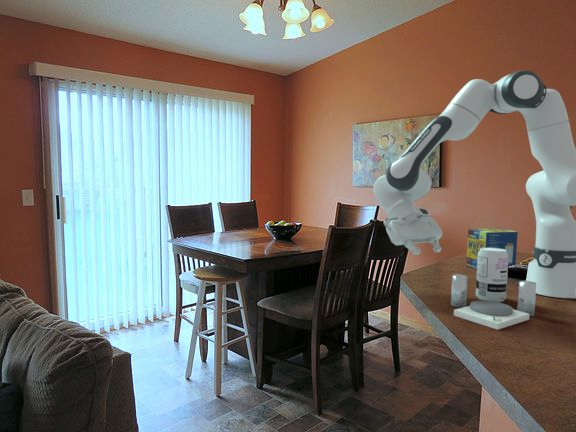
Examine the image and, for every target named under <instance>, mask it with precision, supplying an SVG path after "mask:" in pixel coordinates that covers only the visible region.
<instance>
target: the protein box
mask: <svg viewBox="0 0 576 432" xmlns="http://www.w3.org/2000/svg"><path fill="white" fill-rule="evenodd" d="M467 230H468V231H467V246H466V247H467V249H466V250H467V251H466V267H469V268H473V269H476V270H477V260H478V253H479V251H480V248H500V249H505V250H506V251H507V253H508V255H509V257H508V267H509V266H512V265H516V266H517V264H516V262H517V251H518V250H517V248H518V247H517V246H518V234H519V232H518V231H516V230H515V231H514V230H511V229H505V228H499V227H495V228H468V229H467Z"/></svg>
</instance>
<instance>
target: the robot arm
mask: <svg viewBox="0 0 576 432" xmlns="http://www.w3.org/2000/svg"><path fill="white" fill-rule="evenodd" d="M489 112H491V113H494V114H498V115H506V114H510V113H514V112H519V113H520V114H521V115H522V116H523V119H524V121H525V125H526V130H527V135H528V136H527V137H528V141H529V145H530V151H531V155H532V156H533V157H534V158H535V160H537V162H539V164H540V166H541V167H542V170H541V171H538V172H536V173H534V174H532V175H530V176H529V177H528V179H527V181H526V183H525V191H526V193H527V195H528V196H529V198H530V199H531V202H532V206H533V207H532V208H533V211H534V216H535V226H536V227H535V229H536V230H535V245H534V246H533V250H532V258H533V259H532V260H531V261H530V262H528V268H527V272H526V273H527V274H526V279H525V281H531V282H535V283H536V294H537V295H541V296H545V297H553V298H557V299H558V298H561V299H576V220H575V219H574V218H575V217H574V216H573V215H572V211H571V206H572V207H573V206H576V146H575V142H574V139H573V134H572V130H571V125H570V119H569V116H568V111H567V108H566V105H565V102H564V100H563V98H562V96H561V94H560V92H559V91H558V90H556V89H555V88H547V86H546V84H544V82H543V81H542V79H541V77H540V76H539V75H538V74H537V73H535V72H534V71H531V70H527V69H523V70H516V71H514V72H512V73H509V74H507V75H505V76H503V77H501V78H500V79H499V80H497V81H496V82H494V83H490V82H488V81H487V80H484V79H483V78H482V79H480V78H475V79H471V80H469V81H468V82H467V83H466V84H464V86H463V87H462V88H461V89H460V90H459V91H458V92H457V93H456V94H455V95H454V97H453V98H452V99H451V101H450V102H449V103H448V104H447V106H446V107H445V109H444V110H443V111H442V112H441V113H440V115H438V116H436V117H435V118H434V119H433V120H432V121H430V123H429V124H427V126H426V127H425V128H424V129H423V130H422V131H421V132H420V133H419V134H418V136H417V137H416V138H415V139H414V141H412V143H411V144H410V145H409V146H408V147H407V149H406V150H404V152H402V153H401V154H400V155H398V156H397V157H396V158H395V159H393V160H392V161H391V162H390V163H389V164H388V166H387V170H386V173H385V174H383V175H381V176H380V177H378V178H377V179H376V181H375V182H374V184H373V189H372V191H373V195H374V198H375V199H376V201H377V203H378V205H379V206H380V207H381V208H382V210H383V211H384V212H385V214H386V215H387V217H386V218H385V219H384V220H383V225H384V227H385V230H386V233H387V236H388V238H389V239H390V242H391V243H392V244H393V245H395V246H404V247H405V248H406V249H407V250H409V251H411V252H412V254H413V256H419V254H421V252H422V250H421V249H420V247H418V246H416V244H421V243H430V245H432V246H433V247H432V250H433V251H434V253H440V252H441V251H442V247H441V246H440V243H439V242H440V241H439V240H440V239H441V238H442V237H443V231H442V230H443V229H441V227H440V225H439V224H438V222H437V221H436V220H435V219H434V218H433V217H431V212H430V211H429V210H427V209H426V208H422V207H419V206H417V205H414V204H413V203H414V202H416V201H419V200H420V199H422V198H424V197H425V196H427V194H429V193H430V191H431V189H432V187H433V185H432V184H433V182H432V181H433V180H432V176H430V175H429V174H428V172H426V171H425V170H424V169H423V168H422V165H423V164H424V162H425V160H427V158H428V157H429V156H430V155H431V154H432V153H433V151H434V150H435V149H436V148H437V146H439V145H440V144H441V143H443V142H445V141H462V140H465V139H466V138H468V137H469V136H470V135H471V134H472V133H473V132H474V131H475V130H476V128H477V127H478V126H479V124H480V123H481V121H482V120H483V119H484V117H485V116H486V115H487V114H488V113H489Z"/></svg>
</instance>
